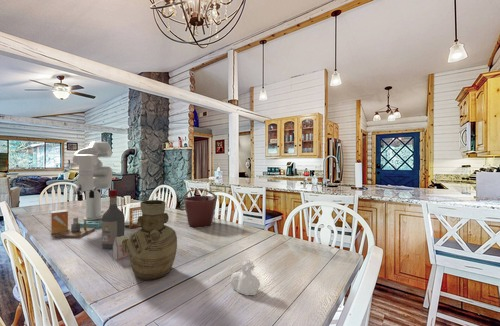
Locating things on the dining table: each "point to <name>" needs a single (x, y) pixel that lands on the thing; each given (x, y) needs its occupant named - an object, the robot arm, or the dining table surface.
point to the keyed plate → (91, 224)
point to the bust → (245, 279)
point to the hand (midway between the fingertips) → (86, 199)
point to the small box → (59, 221)
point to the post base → (74, 235)
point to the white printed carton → (119, 247)
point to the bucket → (200, 209)
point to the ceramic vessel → (151, 242)
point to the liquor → (112, 222)
